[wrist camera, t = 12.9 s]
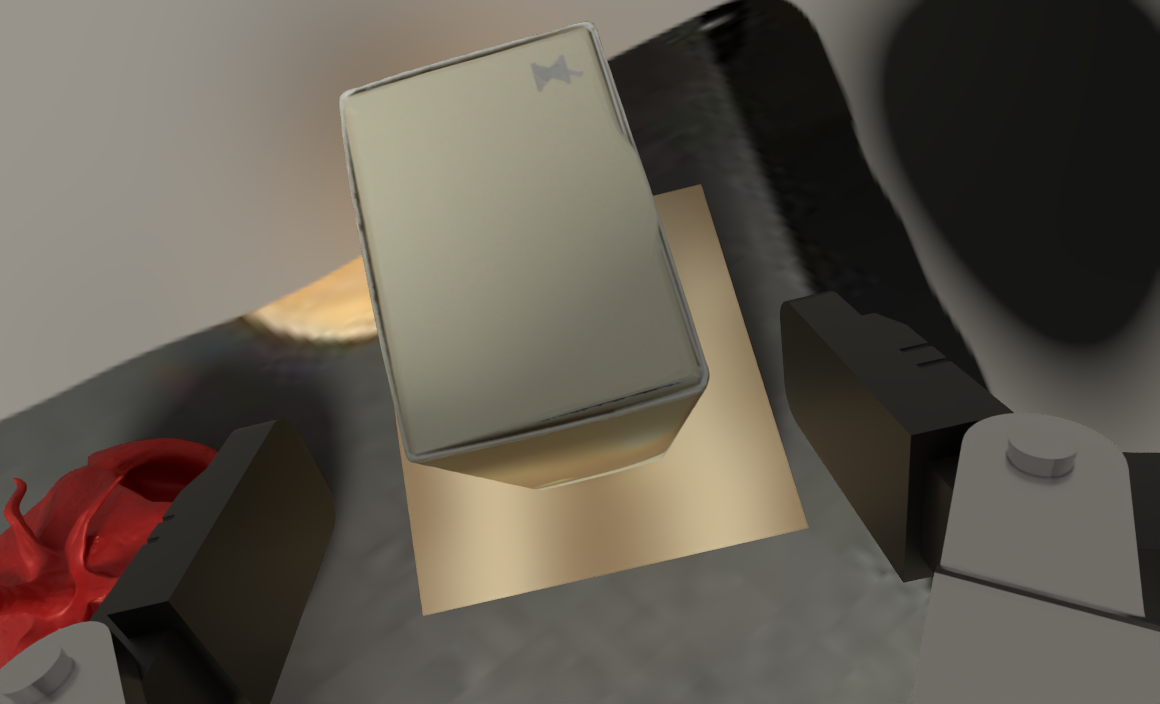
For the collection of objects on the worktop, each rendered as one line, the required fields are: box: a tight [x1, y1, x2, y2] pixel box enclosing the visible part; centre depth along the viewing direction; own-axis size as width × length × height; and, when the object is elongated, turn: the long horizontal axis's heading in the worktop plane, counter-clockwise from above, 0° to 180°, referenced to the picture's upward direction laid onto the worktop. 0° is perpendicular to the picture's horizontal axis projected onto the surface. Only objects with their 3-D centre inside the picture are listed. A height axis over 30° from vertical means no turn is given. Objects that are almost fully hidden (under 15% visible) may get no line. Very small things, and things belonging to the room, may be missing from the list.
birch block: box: [394, 184, 808, 616], centre depth 23 cm, size 12×12×5 cm
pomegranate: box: [0, 438, 218, 669], centre depth 21 cm, size 10×10×9 cm
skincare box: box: [339, 21, 710, 490], centre depth 15 cm, size 6×4×12 cm
